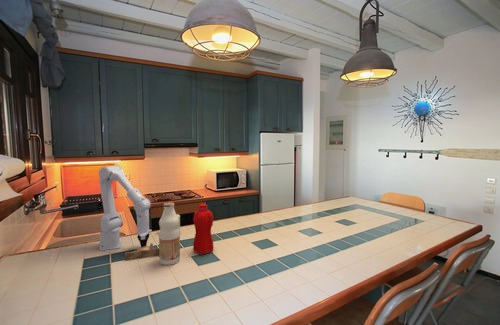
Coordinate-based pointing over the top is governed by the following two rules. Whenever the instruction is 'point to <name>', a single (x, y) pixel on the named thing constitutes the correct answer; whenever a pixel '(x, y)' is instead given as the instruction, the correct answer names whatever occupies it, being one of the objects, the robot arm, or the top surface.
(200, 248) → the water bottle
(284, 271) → the top surface
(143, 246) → the tan rounded pebble
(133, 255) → the mortise joint
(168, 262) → the fruit juice
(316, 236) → the top surface
